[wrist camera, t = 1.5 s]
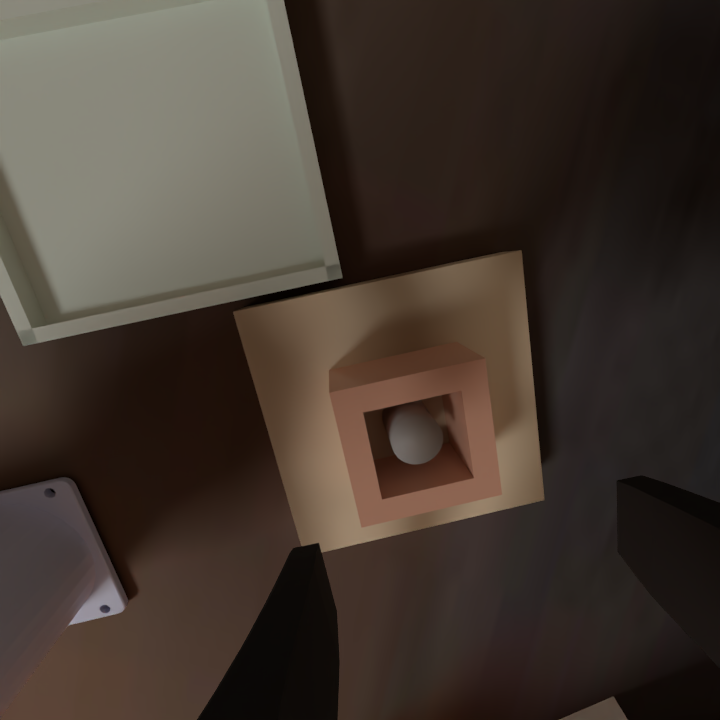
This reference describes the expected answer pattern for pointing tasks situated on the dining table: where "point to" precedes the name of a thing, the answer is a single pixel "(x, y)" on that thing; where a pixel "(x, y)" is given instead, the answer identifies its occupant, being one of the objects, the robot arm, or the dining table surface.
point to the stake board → (379, 335)
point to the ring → (455, 459)
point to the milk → (600, 712)
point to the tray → (152, 162)
